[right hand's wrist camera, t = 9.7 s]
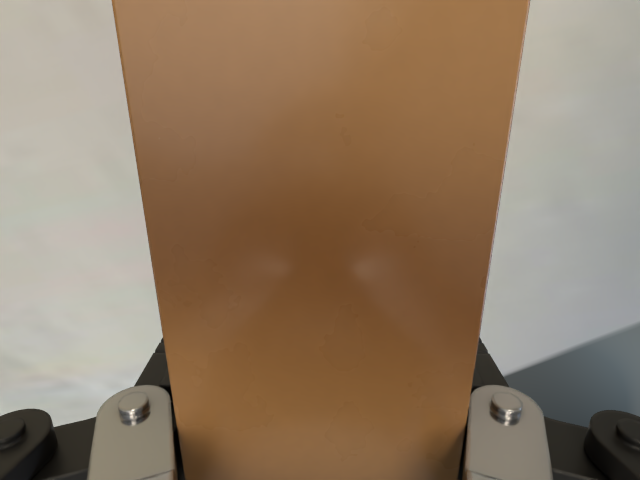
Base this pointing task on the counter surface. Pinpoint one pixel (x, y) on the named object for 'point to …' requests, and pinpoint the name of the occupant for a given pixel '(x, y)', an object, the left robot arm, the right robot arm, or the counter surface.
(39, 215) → the counter surface
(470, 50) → the post
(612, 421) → the right robot arm
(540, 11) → the counter surface
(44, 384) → the counter surface
